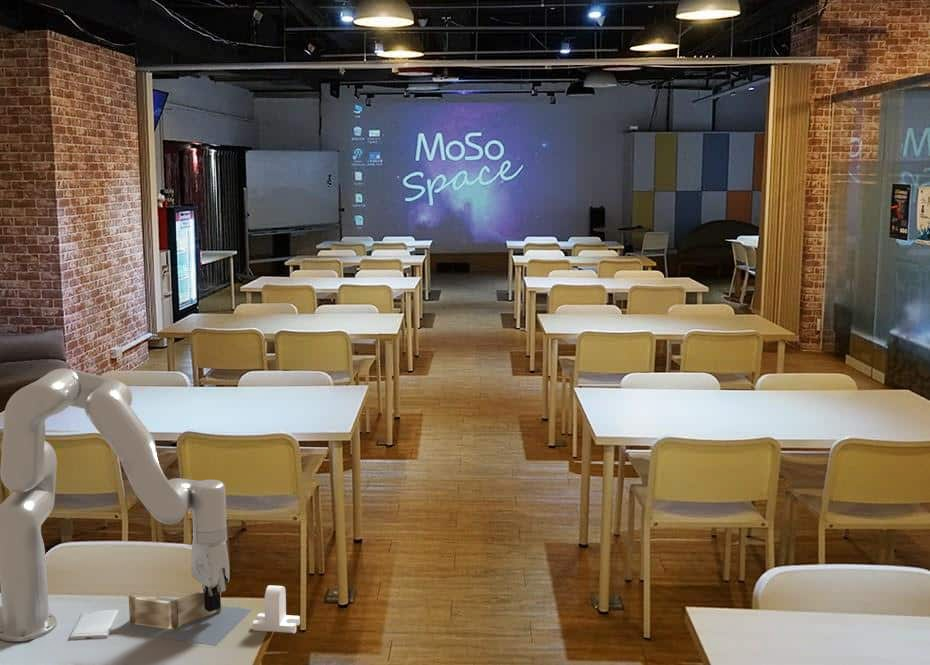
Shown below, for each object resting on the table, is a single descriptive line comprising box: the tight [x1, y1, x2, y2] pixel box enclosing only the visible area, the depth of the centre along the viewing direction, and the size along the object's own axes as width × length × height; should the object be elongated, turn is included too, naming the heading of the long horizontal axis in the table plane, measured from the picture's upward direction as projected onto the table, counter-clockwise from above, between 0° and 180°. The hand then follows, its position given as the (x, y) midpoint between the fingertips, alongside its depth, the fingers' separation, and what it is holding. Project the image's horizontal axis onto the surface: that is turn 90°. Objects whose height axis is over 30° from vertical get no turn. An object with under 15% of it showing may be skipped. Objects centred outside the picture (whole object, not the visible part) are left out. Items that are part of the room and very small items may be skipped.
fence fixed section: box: [128, 593, 171, 628], centre depth 222 cm, size 10×2×6 cm, turn 77°
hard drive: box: [68, 609, 120, 640], centre depth 221 cm, size 2×8×12 cm
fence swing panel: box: [170, 590, 222, 628], centre depth 224 cm, size 13×2×7 cm, turn 135°
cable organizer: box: [252, 584, 301, 635], centre depth 222 cm, size 5×10×10 cm, turn 84°
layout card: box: [115, 596, 253, 646], centre depth 224 cm, size 25×18×1 cm
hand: (212, 608), depth 224 cm, fingers closed
